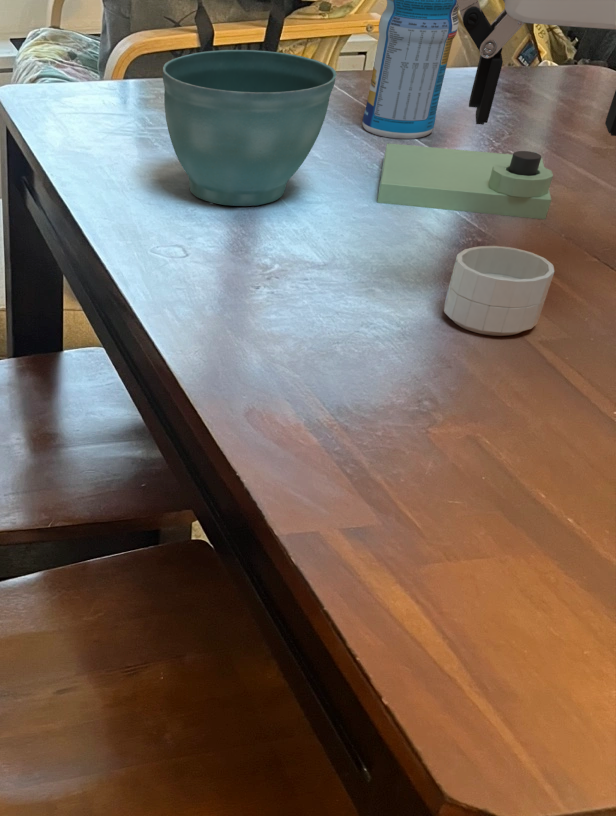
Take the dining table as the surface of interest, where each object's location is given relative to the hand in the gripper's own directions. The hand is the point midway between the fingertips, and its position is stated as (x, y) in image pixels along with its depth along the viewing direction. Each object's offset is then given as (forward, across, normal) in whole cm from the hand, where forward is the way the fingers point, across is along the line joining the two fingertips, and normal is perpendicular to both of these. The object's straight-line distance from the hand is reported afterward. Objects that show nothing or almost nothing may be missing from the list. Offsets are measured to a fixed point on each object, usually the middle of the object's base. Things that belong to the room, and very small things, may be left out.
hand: (545, 124), depth 74 cm
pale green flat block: (+14, +2, -33) cm, 36 cm away
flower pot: (+14, +24, -25) cm, 37 cm away
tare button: (+11, -3, -28) cm, 31 cm away
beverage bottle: (+14, +9, -53) cm, 56 cm away
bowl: (+14, 0, 0) cm, 14 cm away
